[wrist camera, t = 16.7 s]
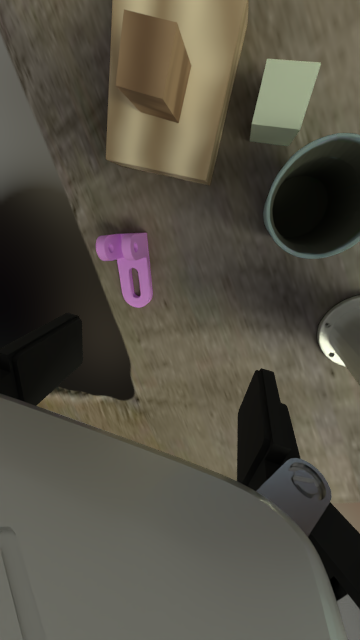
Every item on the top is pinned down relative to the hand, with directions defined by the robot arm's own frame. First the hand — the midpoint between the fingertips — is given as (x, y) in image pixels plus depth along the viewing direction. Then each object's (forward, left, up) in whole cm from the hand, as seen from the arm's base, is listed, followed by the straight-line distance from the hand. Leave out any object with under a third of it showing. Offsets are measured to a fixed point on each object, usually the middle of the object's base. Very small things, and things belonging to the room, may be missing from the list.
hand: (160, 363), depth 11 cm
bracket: (+14, +4, -29) cm, 32 cm away
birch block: (+10, -19, -29) cm, 36 cm away
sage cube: (-3, -19, -28) cm, 34 cm away
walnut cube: (+10, -19, -24) cm, 32 cm away
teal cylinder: (-9, -10, -28) cm, 32 cm away
